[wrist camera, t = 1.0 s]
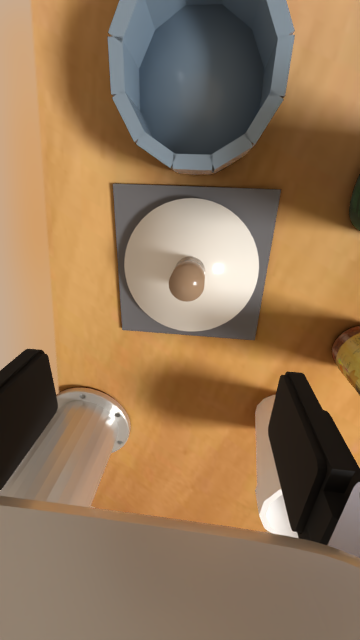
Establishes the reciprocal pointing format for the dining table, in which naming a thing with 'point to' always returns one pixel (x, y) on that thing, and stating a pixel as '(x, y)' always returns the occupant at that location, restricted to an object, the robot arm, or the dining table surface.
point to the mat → (244, 202)
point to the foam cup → (269, 476)
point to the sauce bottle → (348, 355)
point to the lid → (191, 264)
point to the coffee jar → (355, 205)
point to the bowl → (199, 76)
